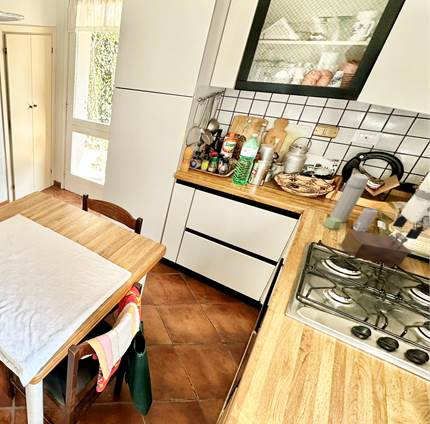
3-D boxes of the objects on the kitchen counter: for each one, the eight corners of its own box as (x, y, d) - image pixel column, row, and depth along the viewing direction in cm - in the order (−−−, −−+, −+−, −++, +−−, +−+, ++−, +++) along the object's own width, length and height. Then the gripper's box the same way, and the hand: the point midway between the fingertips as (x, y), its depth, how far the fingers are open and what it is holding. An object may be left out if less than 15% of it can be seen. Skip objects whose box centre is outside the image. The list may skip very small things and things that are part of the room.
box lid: (393, 238, 135) (400, 229, 133) (410, 254, 125) (417, 244, 122) (348, 230, 140) (353, 221, 138) (360, 245, 130) (366, 235, 127)
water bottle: (346, 219, 166) (370, 176, 154) (345, 224, 161) (370, 180, 149) (325, 213, 172) (347, 171, 160) (324, 218, 167) (345, 175, 155)
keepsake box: (382, 252, 139) (391, 238, 135) (397, 269, 129) (408, 254, 125) (340, 245, 144) (348, 231, 140) (351, 260, 134) (360, 245, 130)
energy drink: (365, 229, 157) (377, 209, 151) (367, 234, 153) (380, 213, 147) (351, 226, 159) (363, 206, 154) (353, 231, 155) (365, 210, 150)
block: (338, 228, 158) (342, 221, 155) (331, 229, 157) (335, 221, 154) (329, 224, 161) (333, 216, 159) (323, 224, 160) (327, 217, 158)
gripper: (458, 206, 111) (428, 245, 119) (427, 188, 125) (403, 224, 133) (431, 202, 113) (404, 240, 122) (404, 185, 127) (381, 220, 136)
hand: (403, 232), depth 127 cm, fingers open, 9 cm apart
